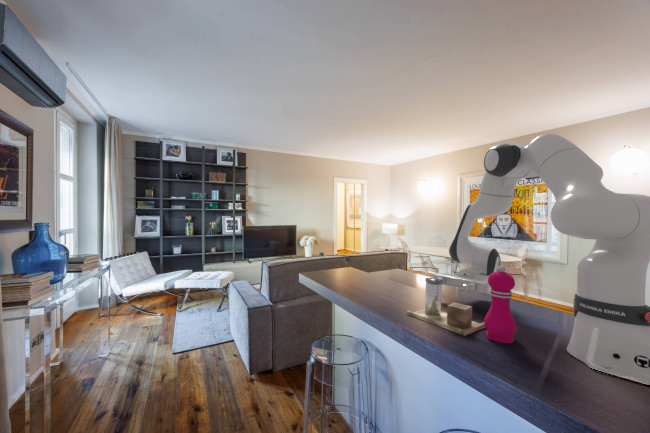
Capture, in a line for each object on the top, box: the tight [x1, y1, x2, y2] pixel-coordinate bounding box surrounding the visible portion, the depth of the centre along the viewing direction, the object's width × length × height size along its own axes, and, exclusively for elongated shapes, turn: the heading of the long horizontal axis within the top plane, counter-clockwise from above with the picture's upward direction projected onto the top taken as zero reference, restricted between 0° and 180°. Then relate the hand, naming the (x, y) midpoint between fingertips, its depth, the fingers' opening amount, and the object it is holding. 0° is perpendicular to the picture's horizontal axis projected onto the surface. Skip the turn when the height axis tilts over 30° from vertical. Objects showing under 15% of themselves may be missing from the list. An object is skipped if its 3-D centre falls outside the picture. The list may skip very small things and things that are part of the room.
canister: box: [424, 277, 443, 316], centre depth 90 cm, size 5×5×11 cm
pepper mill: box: [483, 265, 518, 344], centre depth 72 cm, size 7×7×20 cm
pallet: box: [405, 308, 486, 336], centre depth 84 cm, size 19×13×2 cm
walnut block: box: [446, 301, 473, 330], centre depth 79 cm, size 5×5×6 cm
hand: (451, 284), depth 97 cm, fingers open, 8 cm apart
